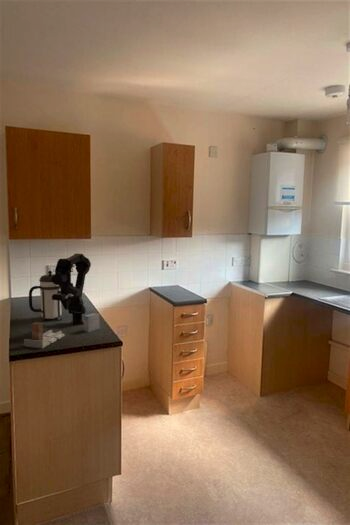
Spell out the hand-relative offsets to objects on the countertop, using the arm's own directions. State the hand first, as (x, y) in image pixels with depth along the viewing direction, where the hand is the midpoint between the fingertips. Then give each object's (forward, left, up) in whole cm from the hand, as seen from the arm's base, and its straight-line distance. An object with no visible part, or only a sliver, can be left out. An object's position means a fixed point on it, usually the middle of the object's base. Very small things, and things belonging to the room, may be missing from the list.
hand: (66, 309), depth 209 cm
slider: (+18, -17, -11) cm, 27 cm away
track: (+13, -13, -12) cm, 22 cm away
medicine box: (+4, +13, -12) cm, 18 cm away
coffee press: (-28, -6, -12) cm, 31 cm away
